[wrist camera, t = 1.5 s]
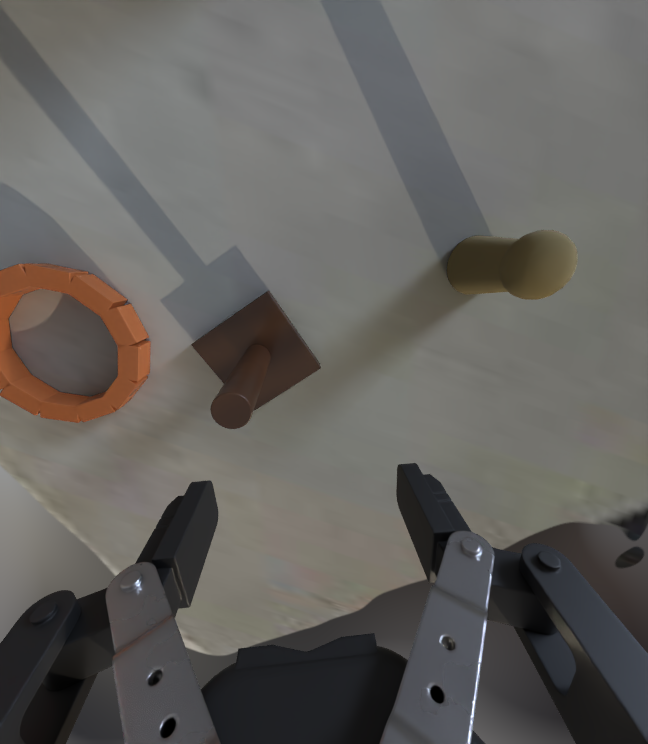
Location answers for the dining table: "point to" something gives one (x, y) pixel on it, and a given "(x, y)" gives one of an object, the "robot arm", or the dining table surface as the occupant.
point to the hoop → (121, 320)
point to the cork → (513, 264)
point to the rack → (254, 359)
